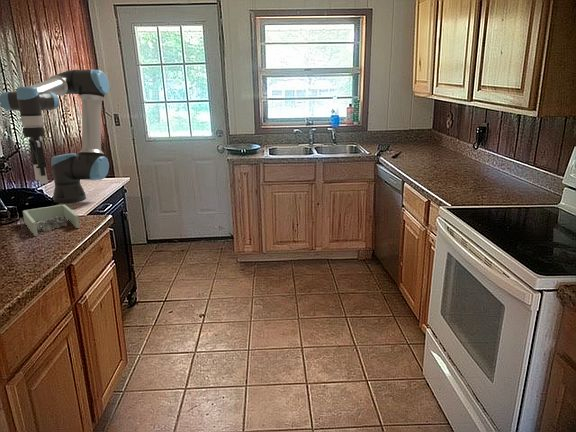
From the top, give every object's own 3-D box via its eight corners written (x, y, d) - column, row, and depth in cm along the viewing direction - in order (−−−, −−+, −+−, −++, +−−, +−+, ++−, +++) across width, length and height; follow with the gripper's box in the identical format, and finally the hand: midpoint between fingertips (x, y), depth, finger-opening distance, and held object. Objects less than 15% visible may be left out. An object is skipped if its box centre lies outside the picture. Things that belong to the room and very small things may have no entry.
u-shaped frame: (24, 223, 189) (22, 210, 188) (66, 216, 199) (64, 204, 198) (34, 236, 172) (32, 222, 171) (79, 228, 182) (78, 215, 180)
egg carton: (45, 233, 177) (44, 223, 176) (35, 230, 181) (33, 220, 180) (70, 225, 186) (69, 216, 185) (60, 223, 190) (58, 213, 189)
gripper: (17, 125, 186) (27, 178, 192) (27, 128, 170) (36, 187, 176) (38, 124, 191) (46, 176, 197) (48, 127, 174) (57, 184, 180)
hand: (41, 181), depth 186 cm, fingers open, 9 cm apart
